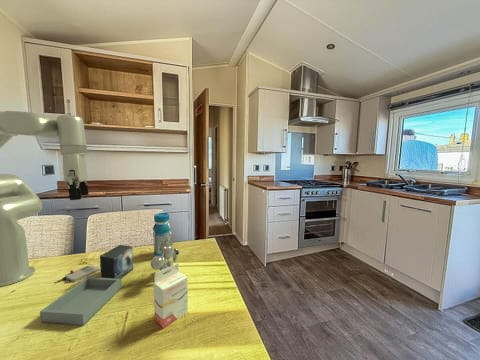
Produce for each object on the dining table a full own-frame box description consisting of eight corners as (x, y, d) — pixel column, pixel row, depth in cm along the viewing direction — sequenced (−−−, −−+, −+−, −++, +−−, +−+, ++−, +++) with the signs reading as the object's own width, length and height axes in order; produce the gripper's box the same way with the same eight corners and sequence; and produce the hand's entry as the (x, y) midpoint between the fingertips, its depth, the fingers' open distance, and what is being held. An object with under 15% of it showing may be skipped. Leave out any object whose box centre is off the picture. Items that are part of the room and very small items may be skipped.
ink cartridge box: (163, 329, 58) (161, 280, 56) (154, 320, 61) (152, 273, 59) (188, 311, 64) (187, 267, 62) (179, 304, 67) (178, 261, 66)
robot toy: (161, 290, 74) (160, 250, 72) (147, 287, 76) (145, 248, 74) (183, 269, 88) (182, 235, 87) (170, 266, 90) (169, 233, 88)
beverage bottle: (161, 260, 96) (159, 218, 93) (150, 255, 100) (148, 215, 98) (175, 252, 103) (174, 213, 101) (164, 248, 107) (163, 211, 105)
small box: (114, 284, 78) (113, 257, 76) (100, 282, 79) (98, 255, 78) (134, 269, 88) (133, 245, 87) (121, 267, 89) (119, 244, 88)
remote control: (105, 269, 89) (105, 262, 88) (61, 289, 75) (60, 281, 75) (97, 265, 92) (96, 258, 92) (52, 284, 78) (51, 276, 78)
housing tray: (41, 322, 60) (39, 311, 59) (88, 285, 76) (87, 277, 76) (83, 325, 59) (82, 314, 58) (121, 287, 75) (121, 278, 75)
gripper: (69, 151, 81) (74, 194, 83) (50, 150, 65) (58, 203, 67) (92, 151, 84) (97, 192, 86) (79, 149, 68) (85, 200, 70)
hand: (79, 197), depth 77 cm, fingers open, 9 cm apart
